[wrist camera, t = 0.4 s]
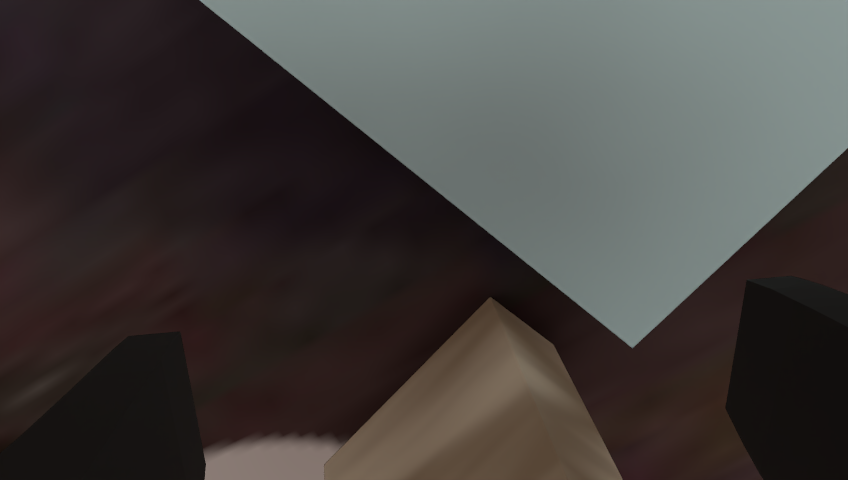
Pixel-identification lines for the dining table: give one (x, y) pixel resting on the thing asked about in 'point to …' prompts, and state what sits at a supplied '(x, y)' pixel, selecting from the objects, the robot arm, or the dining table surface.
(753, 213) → the mat
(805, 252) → the dining table surface
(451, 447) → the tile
